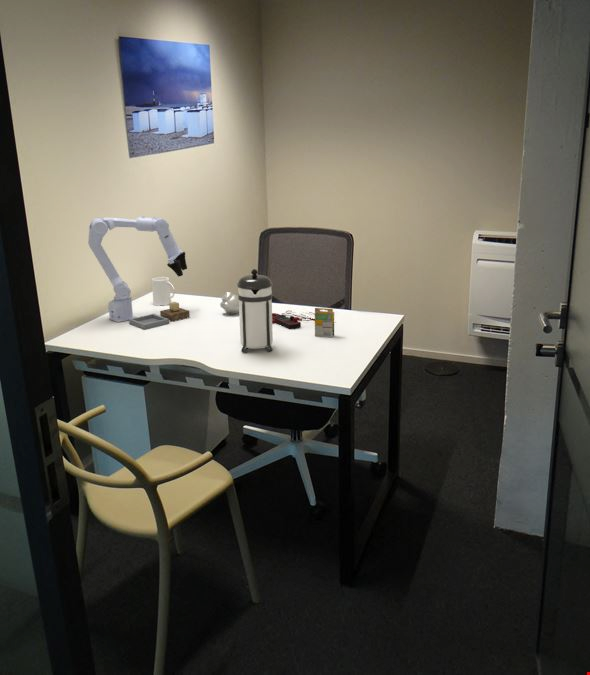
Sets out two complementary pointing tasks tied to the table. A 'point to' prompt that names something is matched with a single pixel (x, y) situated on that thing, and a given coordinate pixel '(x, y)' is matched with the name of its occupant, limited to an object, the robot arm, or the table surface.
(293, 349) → the table surface
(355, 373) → the table surface
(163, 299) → the mug
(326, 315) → the crayon box
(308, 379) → the table surface
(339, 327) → the table surface
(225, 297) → the white piggy bank
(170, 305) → the pin
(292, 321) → the digital clamp meter
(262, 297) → the coffee press
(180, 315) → the block
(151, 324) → the tray
